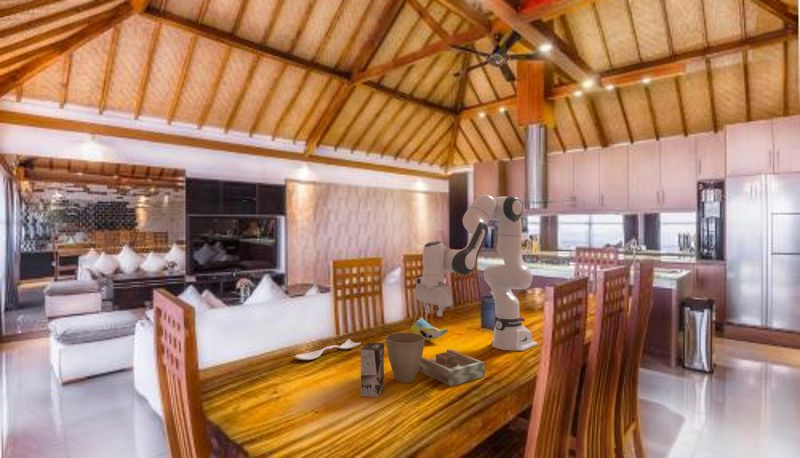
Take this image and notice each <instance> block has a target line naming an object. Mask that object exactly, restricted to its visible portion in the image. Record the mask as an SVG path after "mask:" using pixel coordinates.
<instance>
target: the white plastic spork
mask: <svg viewBox="0 0 800 458" xmlns="http://www.w3.org/2000/svg"><path fill="white" fill-rule="evenodd" d="M360 345H361V342H354V341H352V340H351V339H350V338H349V339H347V340H346V341H344V343H342V344H341V345H336V344H335V345H329V346H326V347H324V348H321V349H319V350H318V349H317V350H314V351H311V352H310V351H309V352H306V353H300V354H296V355H295V356H294V357H295V359H297V360H301V361H311V360H312V361H313V360H315V359H317V358H319V357H320V356H321V355H322V353H323V352H325V351H327V350H331V349H334V348H336V349H337V348H338V349H341V350H348V349H352V348H355V347H357V346H360Z"/></svg>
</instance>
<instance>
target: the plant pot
mask: <svg viewBox="0 0 800 458" xmlns="http://www.w3.org/2000/svg"><path fill="white" fill-rule="evenodd" d="M385 342H386V349H387V350H386V351H387V357H388V361H389V363H390V368H391V371H392V374H393V376H394V379H395V381H396V382H397V383H401V384H409V383H413V382H414V381H415V380H416V378H417V375H418V372H419V371H418V369H419V366H420V363H421V359H422V357H423V353H424V348H425V342H426V340H425V337H424V336H423V335H420V334H416V333H410V332H395V333H394V332H393V333H391V334H387V335H386V336H385Z"/></svg>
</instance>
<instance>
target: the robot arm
mask: <svg viewBox="0 0 800 458" xmlns="http://www.w3.org/2000/svg"><path fill="white" fill-rule="evenodd" d="M523 210H524V208H523V202H522V201H521V199H520V198H519V197H518V196H512V195H511V196H510V195H508V196H497V197H493V196H492V195H489V194H481V195H479V196H478V197H477V198H475V200H474V201H472V203H471V205H470V206H469V207H468V209H467V210H466V211H465V213H464V214H463V216H462V225H463V228H464V229H465V230H466V231H467V232H468V233H469V234H471V235H470V237H469V240H468V242H467V245H466V246H465V247H464V248H461V249H453V248H449V247H448V246H445V244H443V242H442V241H437V240H436V241H430V242H427V243H426V244H424V246H423V250H422V266H423V271H422V276H420V277H417V278H415V281H414V282H415V284H416V285H415V298H416V300H417V301H420V302H422V305H423V308H424V313H425V314H431V307H430V304H432V305H435V306H437V307H438V311H436V316H437V317H443V312H444V310H445V308H449V307H452V306H453V294H452V288H451V286H450V285H449V283H447V282H445V272H447V273H448V272H449V273H453V274H454V273H456V274H460V275H463V276H467V275H469V274H471V273H472V272H473V271H474V269H475V268H476V265H477V260H478V257H479V254H480V253H481V252H480V251H481V250H482V249H483V245H484V243H485V241H486V239H487V237H488V236H487V235H488V233H489V227H488V224H489V222H490V221H498V223H499V225H498V231H497V242H496V243H497V245H496V246H497V248H496V251H497V253H498V254H499V255H500V256H501V258H502V260H503V262H504V263H503V264H501V263H494V264H490V265H487V266H486V267H485V269H484V270H483V271H484V272H483V278H484V281H485V283H487V285H488V286H489V288H490V289H491V292H492V295H493V298H494V308H495V310H494V311H495V312H494V313H495V316H494V327H493V328H494V329H493V339H492V340H491V342H492V345H491V346H492V347H493V348H495V349H497V350H501V351H502V350H503V351H517V352H524V351H526V350H529V349H531V348H533V347H536V346H538V342H536V341H535V340H533V337H532V336H533V335H532V332H531V331H530V330H529V329H528V328H527V327H526V326H525V325H524V324H523V322H526V320H527V319H526V317H524V316H521V317H520V301H519V299H518V298H517V297H516V296H515V294H514V293H513V292H512V290H526V289H528V288H530V286H531V284H532V282H533V273H532V272H531V270H530V269H529V268H528V267H527V266H526V264H525V262H524V259H523V256H522V239H523V237H522V235H523V228H522V227H523V226H522V218H521V216H522V213H523Z"/></svg>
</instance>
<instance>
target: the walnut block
mask: <svg viewBox="0 0 800 458" xmlns="http://www.w3.org/2000/svg"><path fill="white" fill-rule="evenodd" d="M435 358H436V363H438V364H440V365H443V366H445V367H447V368H451V367H455V366H457V356H456V355H453V354H451V353H448V352H447V351H446V352H442V353H438V354H435Z"/></svg>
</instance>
